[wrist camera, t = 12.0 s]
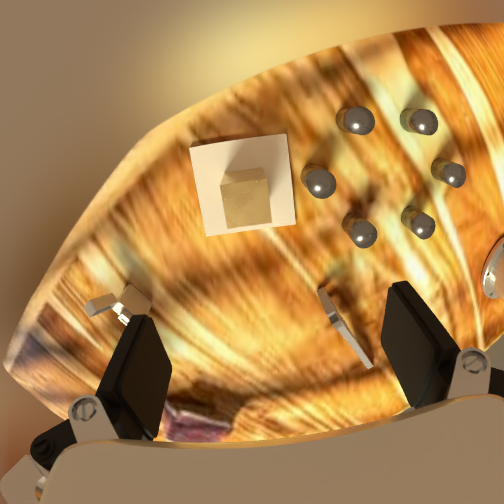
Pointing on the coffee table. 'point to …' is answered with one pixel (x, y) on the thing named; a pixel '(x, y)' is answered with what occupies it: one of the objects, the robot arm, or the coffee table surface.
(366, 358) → the caliper
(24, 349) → the coffee table surface
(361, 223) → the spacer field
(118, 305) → the lighter
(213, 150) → the coaster
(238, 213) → the tan rectangular block
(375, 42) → the coffee table surface
